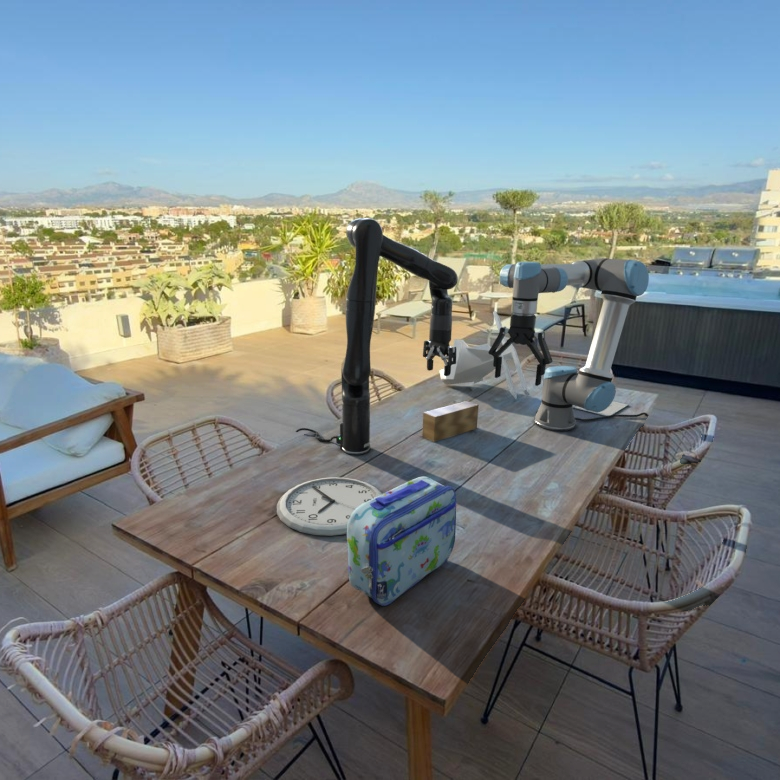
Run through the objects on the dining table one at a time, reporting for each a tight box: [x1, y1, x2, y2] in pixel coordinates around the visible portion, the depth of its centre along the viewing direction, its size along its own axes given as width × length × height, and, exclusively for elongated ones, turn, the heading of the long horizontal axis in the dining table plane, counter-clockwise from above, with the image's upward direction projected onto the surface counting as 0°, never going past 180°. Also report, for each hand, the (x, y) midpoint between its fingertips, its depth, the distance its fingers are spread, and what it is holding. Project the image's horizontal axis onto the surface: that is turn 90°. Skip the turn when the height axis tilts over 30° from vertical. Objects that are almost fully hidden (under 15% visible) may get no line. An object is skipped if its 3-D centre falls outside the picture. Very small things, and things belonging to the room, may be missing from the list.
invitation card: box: [573, 400, 629, 417], centre depth 226 cm, size 21×1×15 cm
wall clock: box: [276, 476, 384, 537], centre depth 142 cm, size 30×2×30 cm
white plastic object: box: [438, 310, 531, 400], centre depth 245 cm, size 37×45×31 cm
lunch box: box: [346, 475, 457, 607], centre depth 111 cm, size 26×11×21 cm, turn 134°
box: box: [421, 400, 479, 443], centre depth 194 cm, size 22×6×10 cm, turn 128°
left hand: (438, 372), depth 183 cm, fingers open, 8 cm apart
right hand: (517, 380), depth 166 cm, fingers open, 13 cm apart
